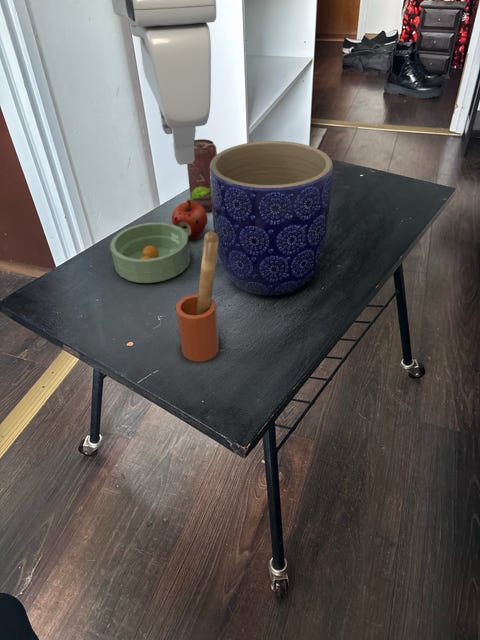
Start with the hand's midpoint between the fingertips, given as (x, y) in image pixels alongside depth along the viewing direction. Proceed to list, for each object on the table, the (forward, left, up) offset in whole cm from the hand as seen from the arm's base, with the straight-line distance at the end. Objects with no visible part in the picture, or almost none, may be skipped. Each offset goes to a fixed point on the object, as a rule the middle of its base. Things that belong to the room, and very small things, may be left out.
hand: (177, 145), depth 51 cm
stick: (0, 0, -29) cm, 29 cm away
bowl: (-4, +25, -30) cm, 39 cm away
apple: (+5, +33, -30) cm, 45 cm away
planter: (+15, +15, -30) cm, 37 cm away
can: (+10, +45, -30) cm, 55 cm away
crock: (0, 0, -30) cm, 30 cm away
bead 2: (-5, +22, -28) cm, 36 cm away
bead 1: (-4, +25, -28) cm, 38 cm away
